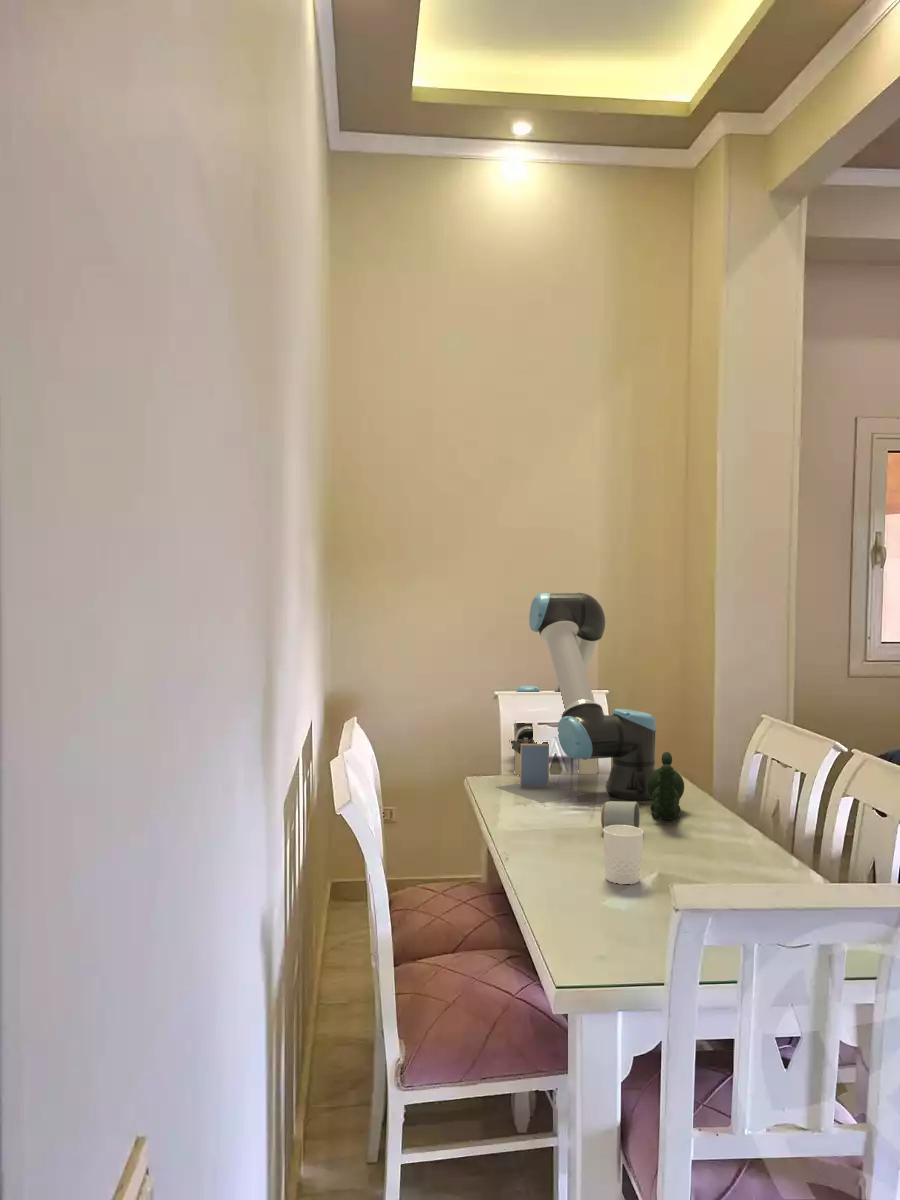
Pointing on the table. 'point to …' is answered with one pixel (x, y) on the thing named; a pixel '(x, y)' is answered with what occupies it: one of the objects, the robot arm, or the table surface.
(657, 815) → the toy figurine
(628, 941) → the table surface
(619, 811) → the ceramic mug
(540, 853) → the table surface
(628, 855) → the white cup
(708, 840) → the table surface
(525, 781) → the tile
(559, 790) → the mat
